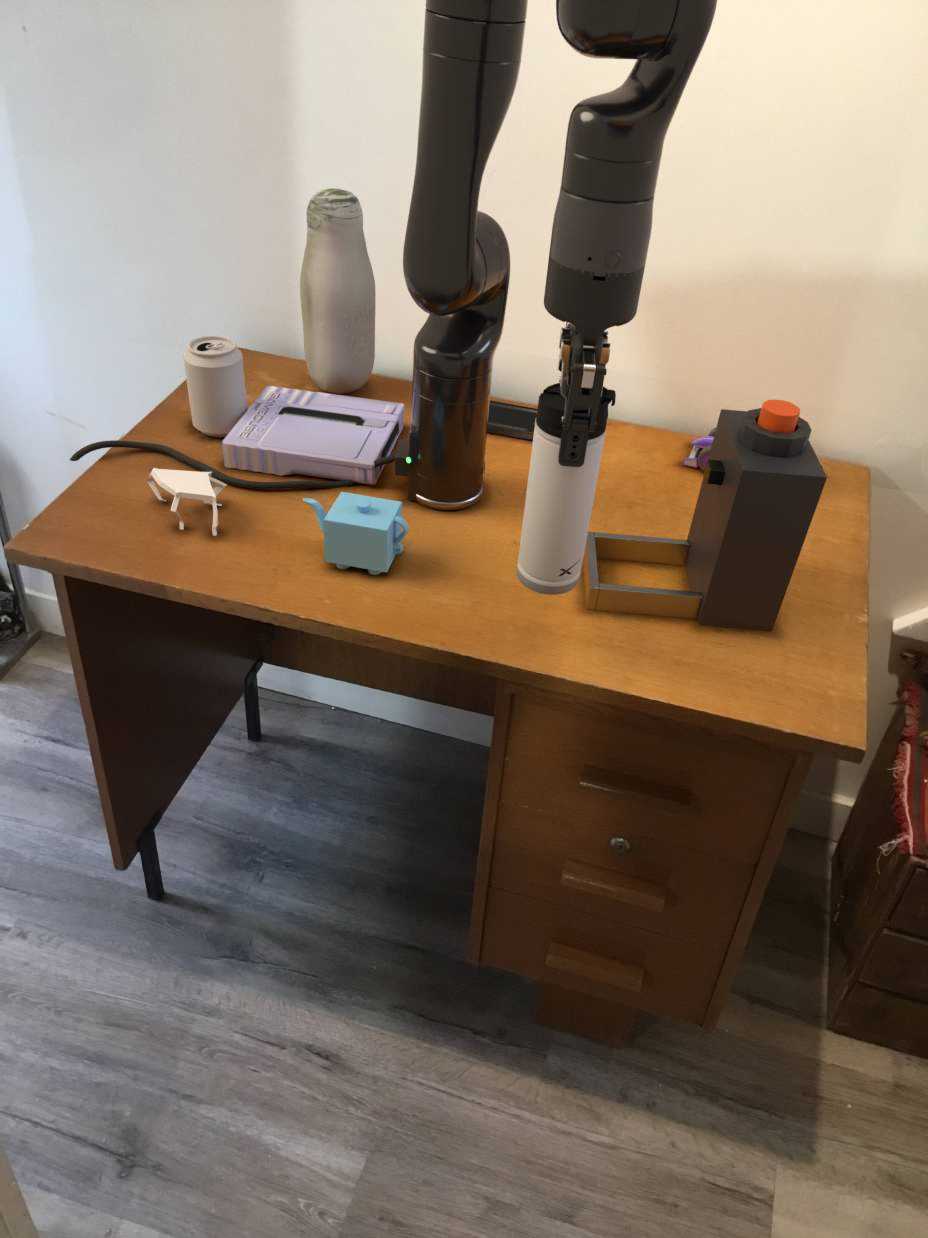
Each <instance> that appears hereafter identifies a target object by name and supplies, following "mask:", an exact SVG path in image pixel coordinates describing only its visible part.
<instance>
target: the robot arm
mask: <svg viewBox="0 0 928 1238" xmlns="http://www.w3.org/2000/svg"><path fill="white" fill-rule="evenodd" d="M528 2H529V0H425V8H424V9H425V11H424V27H423V42H422V65H421V67H422V70H421V71H422V72H421V73H422V74H421V91H420V103H419V114H418V115H419V116H418V130H417V146H416V147H417V148H416V160H415V161H416V162H415V169H414V170H415V171H414V176H413V185H412V192H411V196H410V197H411V198H410V204H409V208H408V209H409V210H408V216H407V223H406V228H405V235H404V242H403V250H402V272H403V277H404V282H405V285H406V289H407V291H408V294H409V296H410V297H411V299H412V300H413V302H414V303H415V304H416V306H417V307H418V308H420V309H421V310H422V311H423V312H425V313H427V314H428V317H427V319H426V320H425V322H424V324H423V325H422V326H421V328H420V329H419V331H418V332H417V333H416V336H415V338H414V342H413V352H412V353H413V354H412V355H413V356H412V357H413V358H412V388H411V389H412V392H411V398H412V399H411V422H410V426H409V431H408V439H404V438H403V439H402V438H400V439H399V438H398V444H397V446H396V452H395V453H394V454H390V455H389V456H387V457H383V458H380V459H377V460H375V461H374V463H375V468H376V467H379V466H381V465H385V466H386V465H388V464H392V463H394V476H397V477H406V478H407V491H406V494H407V495H406V500H407V501H411V502H412V501H415V502H417V503H419V504H420V505H422V506H425V507H427V508H430V509H434V510H441V511H456V510H462V509H466V508H469V507H471V506H473V505H475V504H477V503H478V502H479V501H480V500H481V498H482V496H483V491H484V490H483V489H484V475H486V459H485V458H486V447H487V437H488V436H487V435H488V432H487V425H488V413H489V402H490V400H491V388H492V377H493V366H494V358H495V353H496V350H497V348H498V346H499V344H500V341H501V339H502V335H503V331H504V326H505V325H504V324H505V319H506V318H505V317H506V310H507V303H508V295H509V289H510V279H511V252H510V246H509V242H508V238H507V236H506V234H505V231H504V230H503V228H502V226H501V225H500V224H499V222H498V221H497V220H495V218H494V217H492V216H491V215H489V214H488V213H486V212H483V211H480V210H479V209H478V208H479V201H480V199H479V198H480V192H481V187H482V182H483V176H484V174H485V170H486V167H487V165H488V164H487V163H488V161H489V159H490V155H491V153H492V150H493V148H494V146H495V143H496V140H497V139H498V137H499V134H500V131H501V129H502V126H503V124H504V122H505V119H506V116H507V114H508V112H509V109H510V106H511V104H512V101H513V98H514V96H515V92H516V88H517V84H518V80H519V76H520V70H521V64H522V57H523V48H524V42H525V41H524V39H525V32H526V24H527V21H526V20H527V18H528V17H527V16H528V7H529V6H528V5H529V3H528ZM717 5H718V0H555V15H556V23H557V26H558V27H557V28H558V30H559V33H560V35H561V37H562V39H564V41H565V42H566V44H567V45H568V46H569V47H570V48H571V49H572V50H573V51H574V52H576V53H577V54H579V55H581V56H584V57H586V58H590V59H597V60H598V59H601V60H636V61H635V63H634V64H633V67H632V69H631V71H629V72H630V73H629V74H628V76H627V77H626V79H625V80H624V82H623V83H622V84H621V85H620V86H618V87H616V88H615V89H613V90H610V91H608V92H605V93H601V94H597V95H594V96H590V97H587V98H584V99H582V100H580V101H579V102H578V103H577V104H575V105H574V107H573V108H572V110H571V112H570V115H569V119H568V124H567V130H566V136H565V146H564V153H563V154H564V155H563V163H562V171H561V179H560V187H559V193H558V197H557V200H556V201H557V202H556V205H555V210H554V214H553V219H552V220H553V222H552V227H551V235H550V236H551V238H550V245H549V252H548V261H547V271H546V277H545V287H544V295H543V306H544V309H545V310H546V312H547V313H548V314H549V315H550V316H551V317H553V318H555V319H556V320H558V321H561V322H562V323H565V327H560V332H559V342H558V343H559V344H558V348H559V353H558V366H557V369H558V371H559V372H560V373H561V374H560V376H559V377H558V383H560V391H559V392H560V395H561V396H562V397H563V398H564V400H565V402H564V412H563V416H562V417H561V422H562V426H563V427H562V434H561V441H560V448H559V455H558V462H559V464H560V465H562V466H570V467H581V466H582V465H583V464H584V460H585V454H586V448H587V442H588V436H589V432H594V430H595V428H596V426H597V422H596V419H597V414H598V409H599V403H600V398H601V396H602V391H603V387H604V381H605V377H606V376H607V371H608V369H607V368H606V366H607V364H608V363H609V361H610V354H611V342H609V331H608V329H610V328H613V327H621V326H624V325H627V324H628V323H630V322H631V321H632V320H634V319H635V317H636V315H637V312H638V306H639V301H640V296H641V291H642V285H643V279H644V275H645V269H646V263H647V257H648V252H649V247H650V243H651V242H650V241H651V236H652V229H653V218H654V217H653V216H654V215H653V214H654V201H655V194H656V190H657V189H656V188H657V184H658V178H659V172H660V167H661V163H662V162H661V161H662V156H663V150H664V145H665V144H664V143H665V140H666V137H667V133H668V131H669V128H670V125H671V123H672V121H673V119H674V116H675V114H676V111H677V109H678V107H679V104H680V101H681V99H682V97H683V94H684V92H685V89H686V87H687V84H688V82H689V80H690V77H691V75H692V72H693V70H694V68H695V66H696V64H697V62H698V59H699V57H700V55H701V53H702V51H703V48H704V46H705V44H706V42H707V39H708V35H709V34H710V31H711V28H712V26H713V21H714V18H715V14H716V10H717V7H718V6H717ZM568 382H570V386H569V385H568ZM575 407H587V414H585V413H573V409H574V408H575ZM106 448H107V449H108V448H125V449H127V448H128V449H138V450H147V451H156V452H160V453H163V454H166V455H168V456H171V457H172V458H175V459H177V460H179V461H181V462H182V463H184V464H185V465H186V464H187V465H188V466H191V467H193V468H195V469H197V470H200V471H201V472H212V474H211V477H212V478H214V479H217V480H219V481H221V482H223V483H225V484H229V485H233V486H237V487H241V488H247V489H257V490H258V489H259V490H282V489H336V488H337V489H338V488H345V487H352V486H355V485H357V484H360V483H359V482H355V481H350V480H343V481H342V480H336V481H324V480H323V481H322V480H321V481H320V480H288V481H257V480H256V481H255V480H247V479H242V478H237V477H234V476H231V475H227V474H225V473H223V472H220V471H218V470H217V469H216V468H214V467H212V466H209V465H208V464H206V463H204V462H201V461H199V460H196V459H194V458H192V457H190V456H188V455H186V454H184V453H182V452H180V451H178V450H176V449H175V448H172V447H169V446H166V445H163V444H159V443H151V442H142V441H133V440H116V439H115V440H114V439H113V440H102V441H97V442H93V443H90V444H86V445H85V446H83V447H82V448H80V449H79V450H77V451H76V452H75V453H73V454H72V456H71V457H70V458H69V461H71V462H78V461H79V460H80V459H82V458H83V457H84V456H86V455H88V454H89V453H92V452H95V451H97V450H102V449H106Z"/></svg>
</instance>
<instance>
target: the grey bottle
mask: <svg viewBox="0 0 928 1238" xmlns="http://www.w3.org/2000/svg"><path fill="white" fill-rule="evenodd" d="M362 208H363V207H362V205H361V203H360V200H359V198H358V197H357V196H356V195H355V193H353V192H352V191H349V190H345V189H341V188H326V189H322V190H320V191H318V192H315V194H313V195H312V196H311V198H310V199H309V200H308V204H307V207H306V226H307V227H306V241H305V242H306V244H305V247H304V252H303V258H302V262H301V263H302V264H301V270H300V275H299V276H300V277H299V279H300V280H299V299H300V309H301V311H300V312H301V320H302V331H303V332H302V334H303V351H304V352H303V353H304V359H305V365H306V367H307V371H308V373H309V376H310V379H311V380H312V382H313V383H314V384H315V385H316V386H317V387H318V388H319V389H321V390H323V391H325V392H326V393H329V394H336V395H341V394H342V395H343V394H349V393H352V392H355V391H357V390H359V389H360V388H362V387H363V386H364V385H365V384H366V383H367V382H368V380H369V379H370V376H371V375H372V372H373V370H374V366H375V365H374V364H375V358H376V280H375V275H374V270H373V267H372V266H373V265H372V263H371V259H370V256H369V253H368V248H367V242H366V238H365V232H364V213H363V212H364V211H363V209H362Z"/></svg>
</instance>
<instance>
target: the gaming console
mask: <svg viewBox="0 0 928 1238" xmlns="http://www.w3.org/2000/svg"><path fill="white" fill-rule="evenodd" d="M404 424H405V403H402V402H401V403H400V402H394V401H387V400H379V399H372V398H365V397H356V396H350V395H343V394H342V395H341V394H335V393H329V392H322V391H321V392H320V391H309V390H305V389H304V390H301V389H297V388H287V387H283V386H282V387H281V386H274V385H267V386H265V388H264V389H263V390H262V391H261V393H260V394H259V395H258V397H257V398H256V399H255V400H254V402H252V404H251V405H250V406H249V408H247V411H246V413H245V414H244V415H243V416H242V418H241V419H240V420H239V421H238V422H237V424H236V425H235V426H234V427H233V429H232V430H231V431H230V432H229V434H228V435H227V436H226V437H224V438H223V439H222V441H221V444H222V445H221V446H222V454H223V463H224V467H225V468H228V469H237V470H239V471H250V472H255V473H259V472H260V473H263V474H272V475H276V476H281V477H283V476H289V475H301V476H308V477H309V476H310V477H316V478H321V479H328V480H329V479H330V480H336V481H343V480H350V481H355V482H359V483H358V484H364V485H370V486H374V485H376V484H377V482H378V480H379V478H380V476H381V474H382V471H383V470H384V468H385V466H386V464H385V465H381V466H379V467H376V468H375V463H374V461H375V460H377V459H380V458H383V457H387V456H390V455H391V453H392V452H393V450H394V447H395V445H396V443H397V441H398V440H399V437H400V435H401V433H402V431H403V428H404Z"/></svg>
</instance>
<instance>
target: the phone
mask: <svg viewBox="0 0 928 1238" xmlns="http://www.w3.org/2000/svg"><path fill="white" fill-rule="evenodd" d="M537 409H538V408H534V407H529V406H523V405H518V404H512V403H506V402H501V401H496V400H491V399H490V402H489V413H488V425H487V433H490V434H496V435H500V436H506V437H512V438H519V439H523V440H529V441H533V436H534V428H535V420H536V417H537V412H538V411H537Z"/></svg>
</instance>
